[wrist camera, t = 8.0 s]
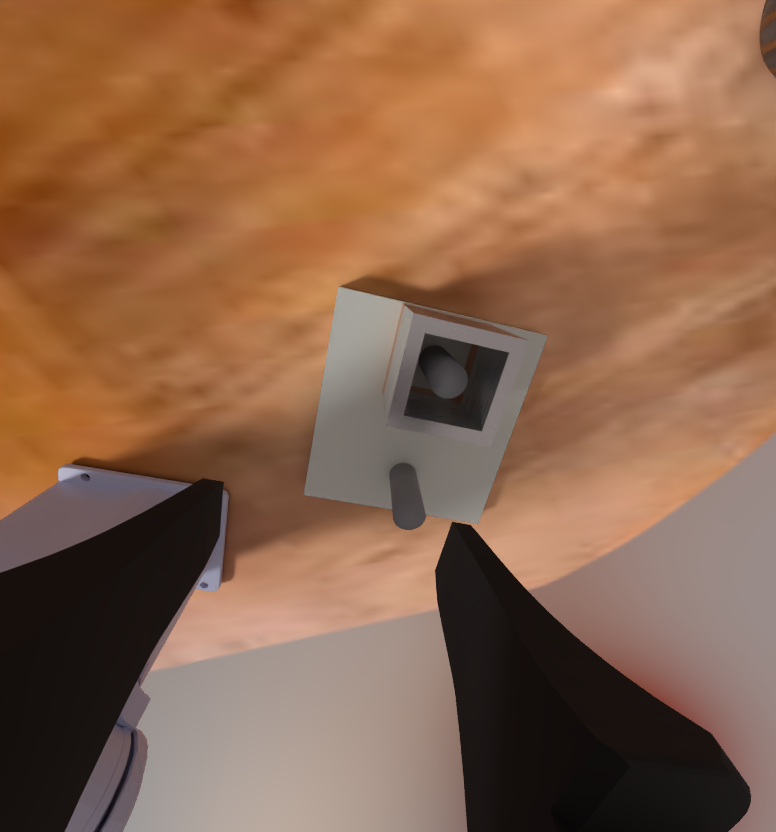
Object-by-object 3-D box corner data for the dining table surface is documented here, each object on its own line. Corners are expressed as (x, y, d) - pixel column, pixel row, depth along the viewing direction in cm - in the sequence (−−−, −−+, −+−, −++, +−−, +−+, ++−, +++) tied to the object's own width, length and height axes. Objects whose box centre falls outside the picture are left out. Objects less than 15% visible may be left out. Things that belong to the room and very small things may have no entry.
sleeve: (382, 390, 20) (385, 425, 15) (402, 303, 18) (413, 313, 14) (463, 407, 20) (490, 446, 16) (490, 324, 19) (529, 340, 14)
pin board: (306, 486, 23) (289, 540, 18) (340, 286, 19) (329, 289, 14) (473, 514, 24) (498, 571, 19) (539, 333, 20) (591, 350, 15)
